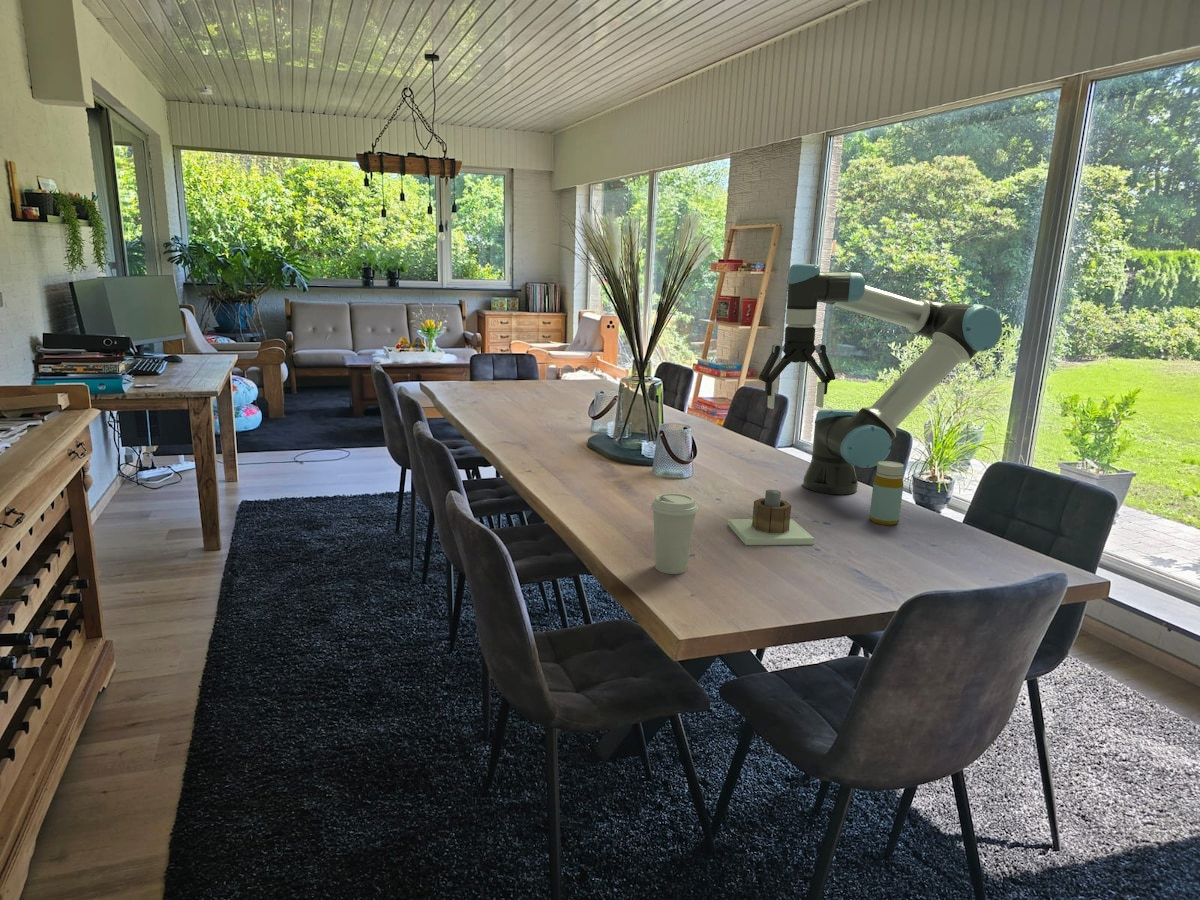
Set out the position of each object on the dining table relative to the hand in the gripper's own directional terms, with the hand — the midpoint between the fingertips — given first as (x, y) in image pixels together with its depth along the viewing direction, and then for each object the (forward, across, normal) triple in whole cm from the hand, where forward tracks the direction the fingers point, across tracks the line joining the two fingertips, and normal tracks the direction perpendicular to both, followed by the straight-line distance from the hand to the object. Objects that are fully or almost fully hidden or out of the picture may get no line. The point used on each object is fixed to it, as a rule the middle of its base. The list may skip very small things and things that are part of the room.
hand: (795, 407), depth 202 cm
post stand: (+26, +16, +25) cm, 39 cm away
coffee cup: (+25, +45, +44) cm, 67 cm away
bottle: (+27, -18, +18) cm, 37 cm away
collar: (+24, +16, +25) cm, 38 cm away
